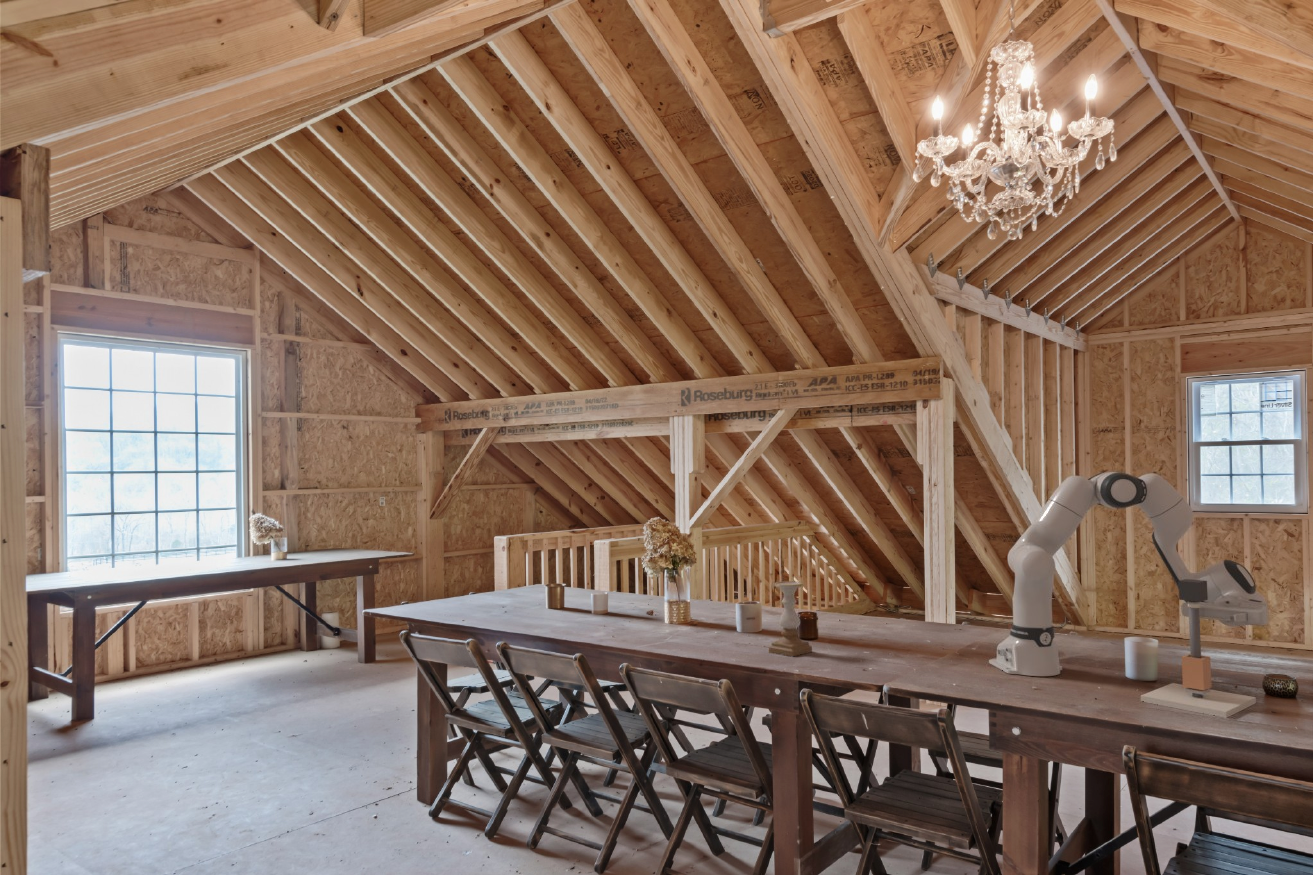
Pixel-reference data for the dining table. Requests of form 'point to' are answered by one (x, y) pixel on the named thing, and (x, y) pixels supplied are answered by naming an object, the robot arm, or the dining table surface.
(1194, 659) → the sleeve
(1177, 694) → the post
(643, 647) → the dining table surface
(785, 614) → the candle holder
